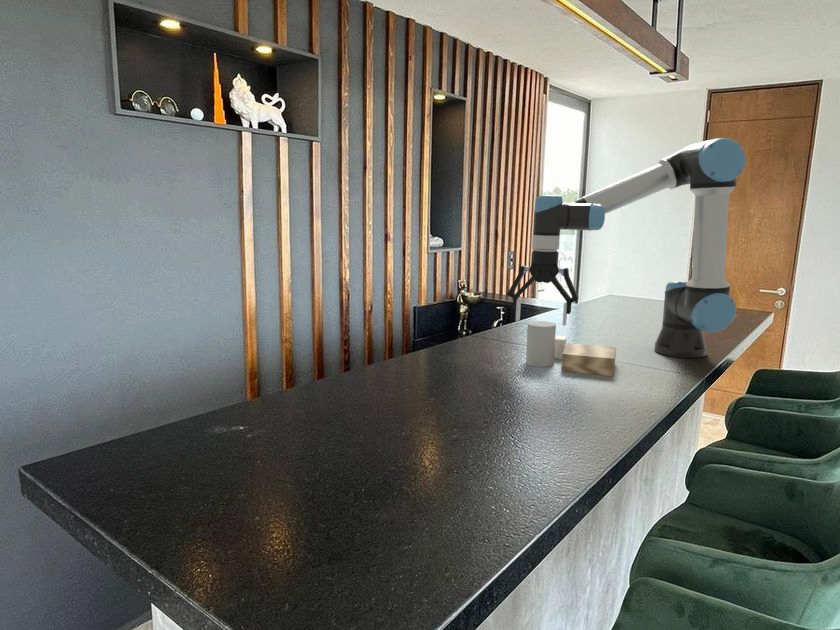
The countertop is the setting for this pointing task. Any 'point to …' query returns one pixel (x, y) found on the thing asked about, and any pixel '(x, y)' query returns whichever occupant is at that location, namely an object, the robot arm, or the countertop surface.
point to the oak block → (589, 359)
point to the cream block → (559, 346)
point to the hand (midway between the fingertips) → (540, 322)
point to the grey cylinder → (540, 343)
